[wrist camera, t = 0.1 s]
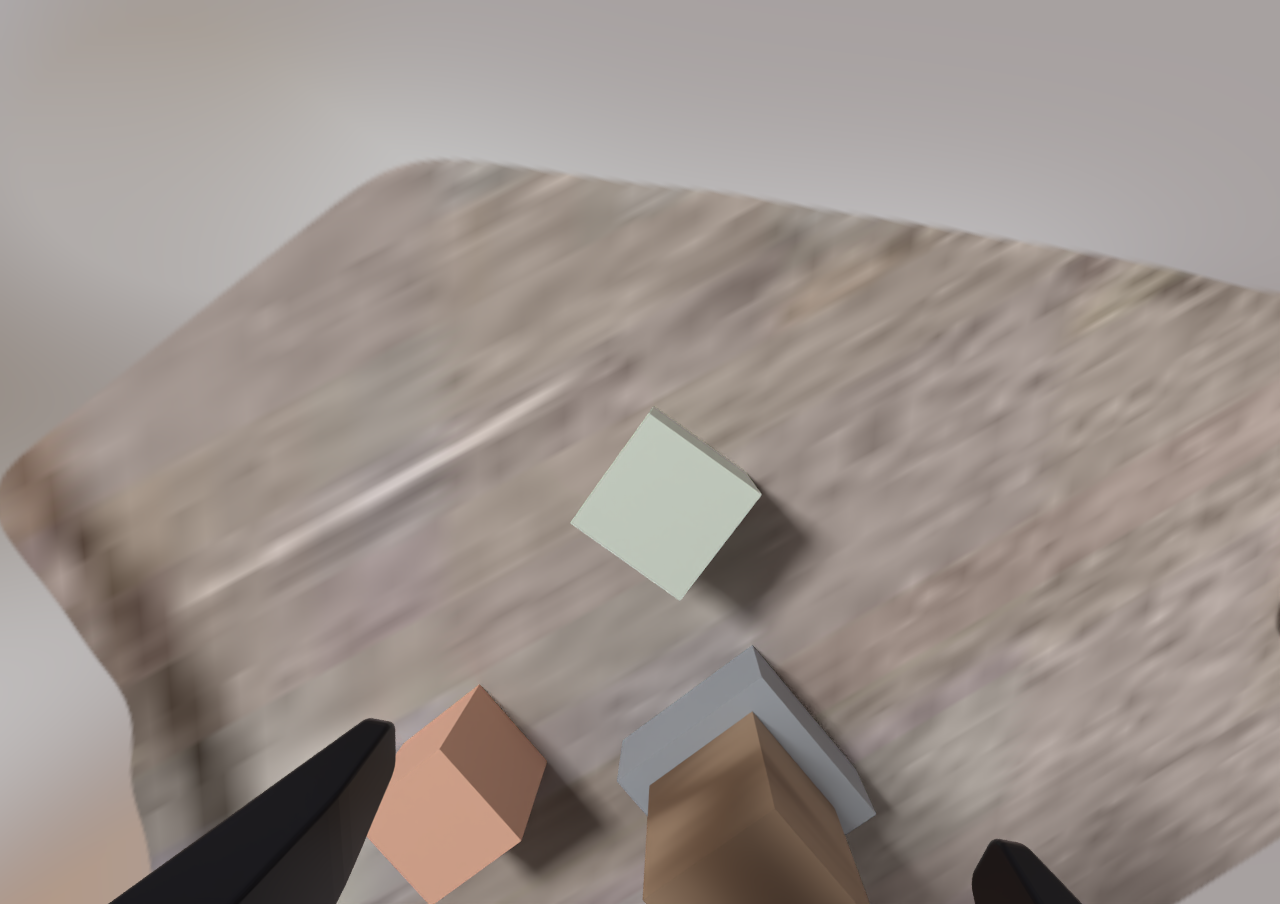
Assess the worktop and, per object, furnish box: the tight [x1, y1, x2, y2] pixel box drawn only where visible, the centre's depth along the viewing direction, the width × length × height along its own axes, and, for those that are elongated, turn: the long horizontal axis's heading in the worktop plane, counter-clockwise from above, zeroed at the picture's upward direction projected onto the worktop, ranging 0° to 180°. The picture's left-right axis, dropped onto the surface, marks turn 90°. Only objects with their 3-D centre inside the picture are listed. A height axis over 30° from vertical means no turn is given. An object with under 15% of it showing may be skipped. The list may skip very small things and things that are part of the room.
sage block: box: [571, 406, 762, 601], centre depth 22 cm, size 4×4×4 cm
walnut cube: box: [643, 711, 870, 904], centre depth 20 cm, size 5×5×5 cm
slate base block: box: [617, 645, 876, 835], centre depth 24 cm, size 7×7×3 cm
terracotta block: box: [367, 684, 547, 904], centre depth 24 cm, size 4×4×4 cm
